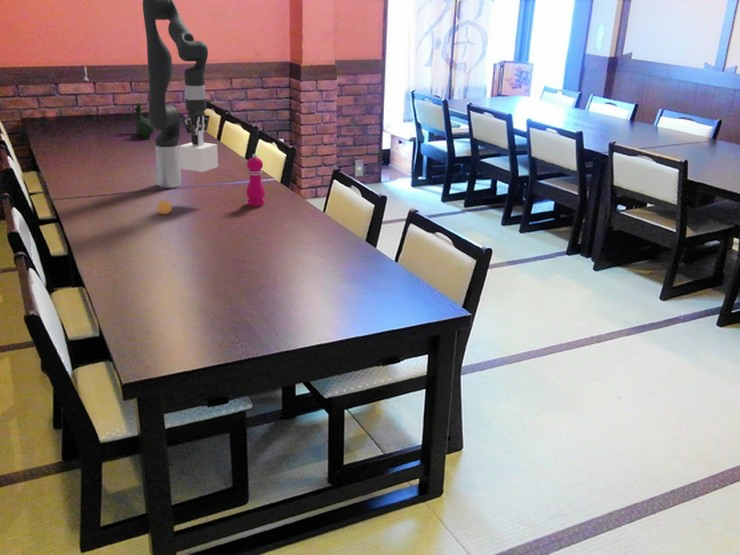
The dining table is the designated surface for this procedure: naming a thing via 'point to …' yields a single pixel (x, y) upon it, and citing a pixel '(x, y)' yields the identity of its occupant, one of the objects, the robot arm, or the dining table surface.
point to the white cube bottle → (198, 155)
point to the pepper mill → (255, 182)
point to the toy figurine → (142, 124)
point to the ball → (164, 207)
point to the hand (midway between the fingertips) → (197, 143)
